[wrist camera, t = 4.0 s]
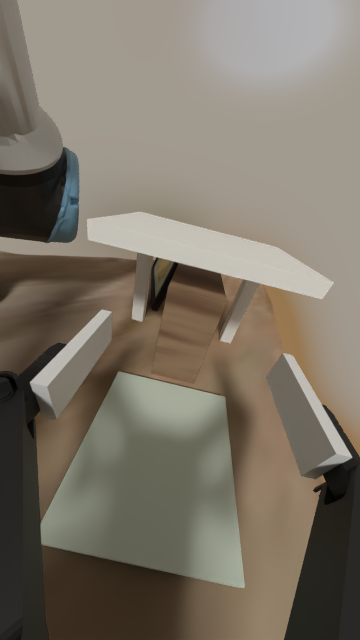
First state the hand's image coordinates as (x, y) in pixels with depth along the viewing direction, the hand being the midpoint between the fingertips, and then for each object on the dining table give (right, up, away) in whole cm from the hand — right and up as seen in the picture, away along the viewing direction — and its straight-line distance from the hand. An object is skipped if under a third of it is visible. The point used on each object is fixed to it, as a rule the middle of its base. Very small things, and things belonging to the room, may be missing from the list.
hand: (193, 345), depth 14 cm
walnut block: (-2, -4, +15) cm, 15 cm away
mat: (-3, -11, +4) cm, 12 cm away
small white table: (-1, -3, +16) cm, 16 cm away
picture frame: (-4, +10, +34) cm, 36 cm away
